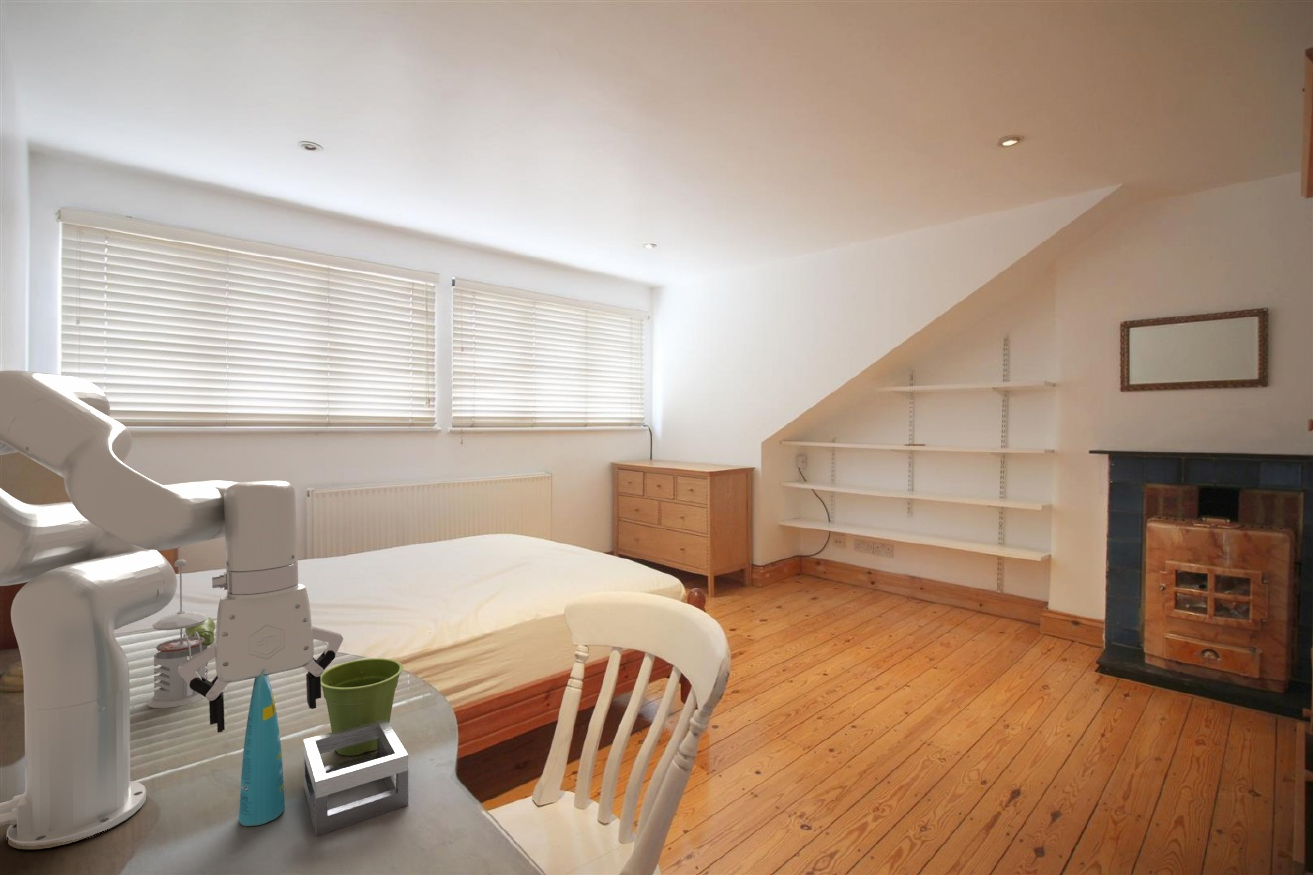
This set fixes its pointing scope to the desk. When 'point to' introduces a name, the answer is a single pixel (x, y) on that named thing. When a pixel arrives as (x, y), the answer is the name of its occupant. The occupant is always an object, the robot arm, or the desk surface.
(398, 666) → the plant pot
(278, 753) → the tube
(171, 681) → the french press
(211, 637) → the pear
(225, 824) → the desk surface
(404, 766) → the square metal frame
